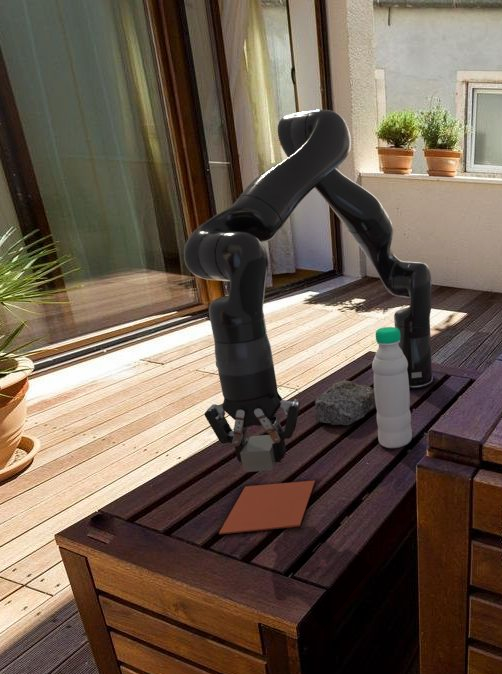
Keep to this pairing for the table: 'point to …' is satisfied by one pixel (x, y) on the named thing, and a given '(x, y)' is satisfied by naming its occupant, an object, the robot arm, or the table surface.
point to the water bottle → (391, 390)
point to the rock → (344, 403)
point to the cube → (258, 454)
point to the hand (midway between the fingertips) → (262, 460)
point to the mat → (269, 507)
